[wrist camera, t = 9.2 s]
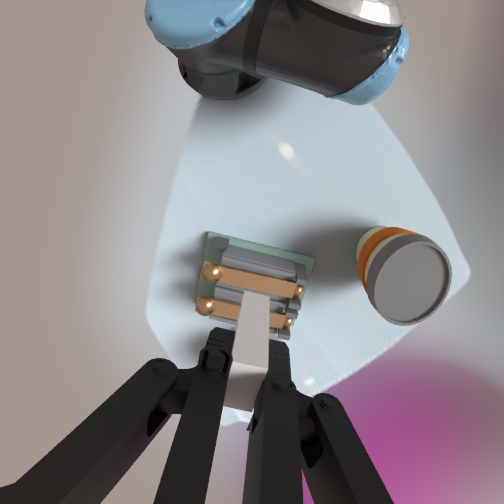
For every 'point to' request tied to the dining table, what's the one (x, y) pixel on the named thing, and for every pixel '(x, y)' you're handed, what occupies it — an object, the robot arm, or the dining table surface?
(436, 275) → the reusable coffee cup
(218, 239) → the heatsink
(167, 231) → the dining table surface
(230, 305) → the strap
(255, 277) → the strap
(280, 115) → the dining table surface
